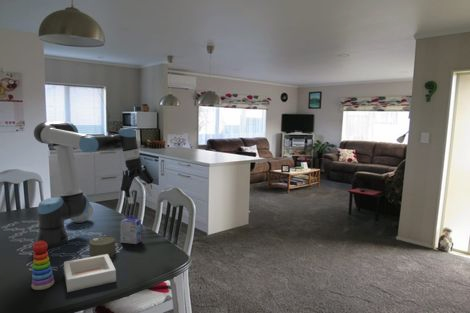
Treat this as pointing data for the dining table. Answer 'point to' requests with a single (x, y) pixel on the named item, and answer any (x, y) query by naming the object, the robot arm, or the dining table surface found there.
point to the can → (102, 246)
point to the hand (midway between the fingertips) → (141, 199)
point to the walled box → (89, 272)
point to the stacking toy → (41, 267)
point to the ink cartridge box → (130, 230)
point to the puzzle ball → (84, 215)
